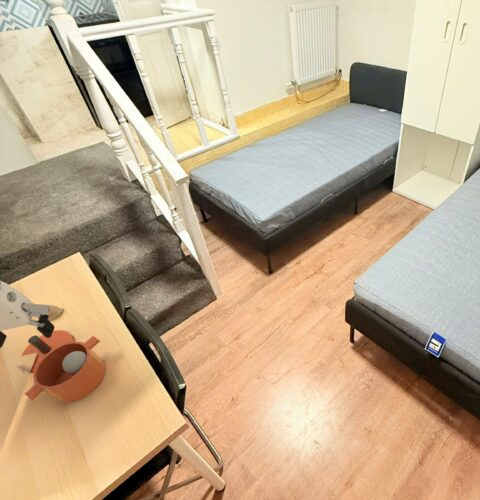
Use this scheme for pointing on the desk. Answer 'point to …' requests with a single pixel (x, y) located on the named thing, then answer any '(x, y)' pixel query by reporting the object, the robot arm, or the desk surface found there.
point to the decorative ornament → (54, 312)
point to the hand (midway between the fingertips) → (27, 337)
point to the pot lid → (45, 345)
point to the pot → (62, 383)
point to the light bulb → (74, 362)
